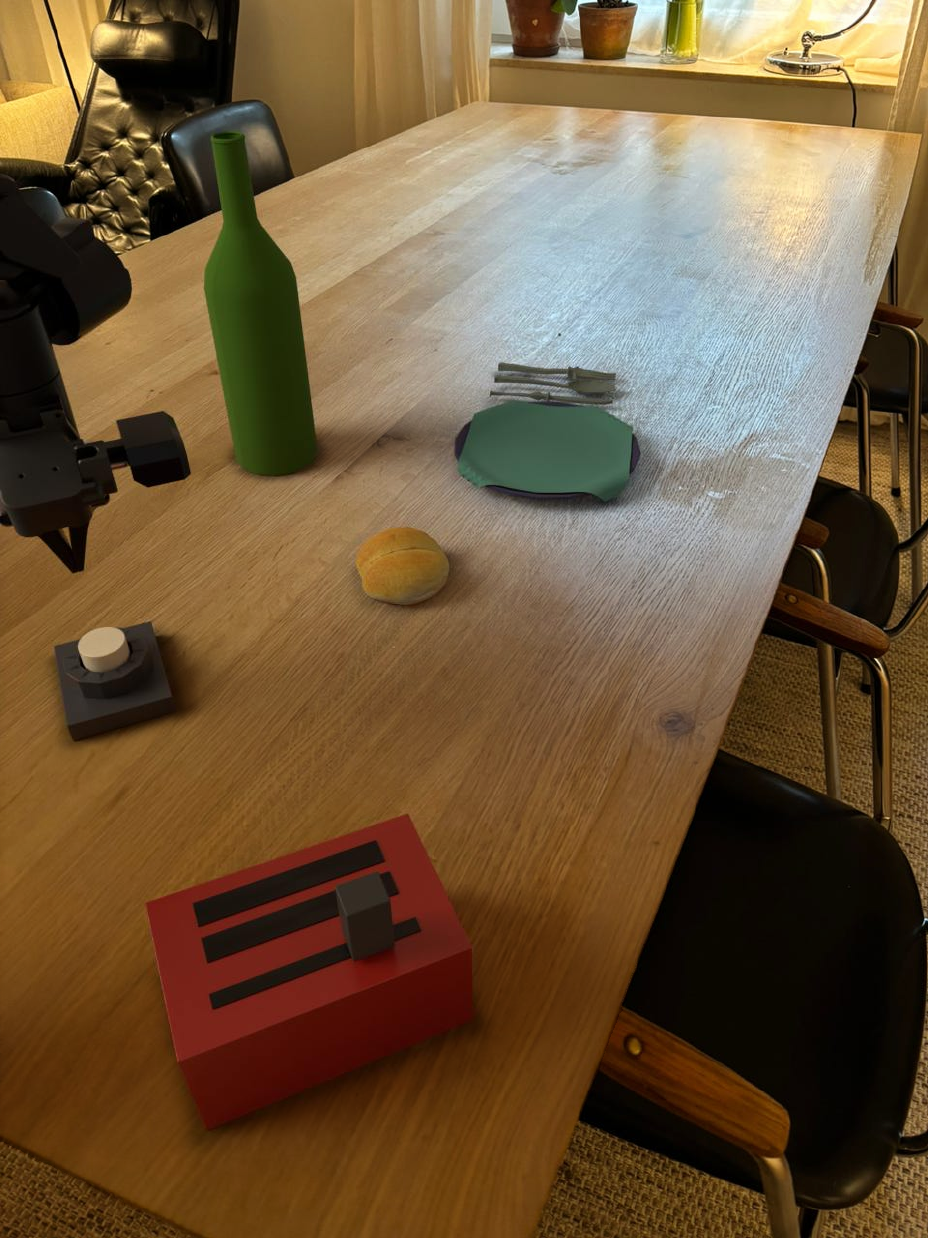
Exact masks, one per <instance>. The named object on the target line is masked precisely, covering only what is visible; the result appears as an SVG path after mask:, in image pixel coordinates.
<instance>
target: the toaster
mask: <svg viewBox="0 0 928 1238" xmlns="http://www.w3.org/2000/svg"><path fill="white" fill-rule="evenodd" d="M374 872H379V875H380V877H381V879H382V882H383V884H384V886H385V889H386V891H387V893H388V896H389V898H390V902H391V911H392V921H393V930H394V940H395V946H394V947H392V948H390V949H387V950H384V951H382V952H379V953H377V954H374V955H371V956H369V957H366V958H363V959H361V960H358V961H356V962H354V961H353V960H352V957H351V954H350V952H349V949H348V946H347V944H346V941H345V938H344V936H343V933H342V927H341V921H340V915H339V909H338V903H337V897H336V891H335V886H337V885H340V884H343V883H346V882H348V881H351V880H354V879H357V878H360V877H362V876H365V875H368V874H371V873H374ZM144 907H145V910H146V911H145V912H146V916H147V922H148V926H149V931H150V937H151V940H152V945H153V950H154V956H155V960H156V965H157V970H158V974H159V979H160V984H161V989H162V994H163V998H164V1005H165V1008H166V1013H167V1017H168V1018H167V1019H168V1022H169V1028H170V1033H171V1037H172V1043H173V1048H174V1052H175V1056H176V1062H177V1064H178V1067H179V1069H180V1071H181V1074H182V1076H183V1078H184V1080H185V1083H186V1086H187V1088H188V1090H189V1092H190V1095H191V1097H192V1100H193V1102H194V1104H195V1106H196V1107H195V1108H196V1109H197V1112H198V1114H199V1116H200V1118H201V1121H202V1123H203V1125H204V1128H205V1130H206V1131H208V1130H211V1129H214V1128H216V1127H218V1126H221V1125H222V1124H226V1123H227V1122H230V1121H232V1120H235V1119H237V1118H239V1117H242V1116H244V1115H247V1114H250V1113H252V1112H254V1111H256V1110H259V1109H262V1108H264V1107H266V1106H269V1105H271V1104H273V1103H277V1102H278V1101H280V1100H283V1099H285V1098H288V1097H291V1096H293V1095H296V1094H298V1093H300V1092H303V1091H305V1090H308V1089H310V1088H312V1087H314V1086H317V1085H319V1084H322V1083H325V1082H327V1081H329V1080H332V1079H334V1078H336V1077H339V1076H341V1075H344V1074H346V1073H349V1072H351V1071H353V1070H356V1069H358V1068H361V1067H363V1066H366V1065H368V1064H370V1063H372V1062H375V1061H378V1060H380V1059H382V1058H384V1057H388V1056H390V1055H392V1054H394V1053H397V1052H399V1051H402V1050H404V1049H406V1048H409V1047H411V1046H414V1045H416V1044H419V1043H422V1042H423V1041H426V1040H428V1039H432V1038H434V1037H435V1036H438V1035H440V1034H442V1033H445V1032H448V1031H450V1030H453V1029H455V1028H457V1027H460V1026H463V1025H465V1024H468V1023H470V1022H472V1021H473V1020H474V997H473V996H474V994H473V985H474V984H473V946H472V944H471V942H470V940H469V938H468V935H467V934H466V931H465V929H464V927H463V925H462V923H461V921H460V919H459V917H458V915H457V912H456V911H455V909H454V906H453V904H452V902H451V900H450V898H449V896H448V894H447V891H446V889H445V888H444V885H443V883H442V881H441V879H440V877H439V875H438V873H437V870H436V869H435V866H434V864H433V862H432V861H431V857H430V856H429V854H428V852H427V850H426V848H425V846H424V844H423V842H422V840H421V837H420V835H419V833H418V831H417V829H416V826H415V825H414V822H413V821H412V819H411V817H410V815H409V813H404V814H401V815H399V816H396V817H393V818H390V819H387V820H385V821H381V822H379V823H376V824H372V825H370V826H367V827H364V828H360V829H358V830H354V831H352V832H349V833H346V834H343V835H340V836H338V837H334V838H331V839H329V840H326V841H322V842H320V843H317V844H313V845H311V846H307V847H305V848H302V849H299V850H296V851H294V852H291V853H288V854H285V855H282V856H278V857H276V858H273V859H269V860H267V861H264V862H261V863H258V864H254V865H252V866H249V867H247V868H244V869H243V868H242V869H240V870H238V871H235V872H232V873H228V874H226V875H223V876H220V877H217V878H214V879H211V880H207V881H205V882H203V883H200V884H196V885H194V886H189V887H188V888H184V889H182V890H178V891H176V892H173V893H170V894H167V895H164V896H161V897H158V898H155V899H152V900H149V901H147V902H144Z"/></svg>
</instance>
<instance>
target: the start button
mask: <svg viewBox="0 0 928 1238" xmlns="http://www.w3.org/2000/svg"><path fill="white" fill-rule="evenodd" d="M114 627H115V626H102V627H98V628H95V629H92V630H90V631H88V632H86V634H84V635H83V636H82V637H80V638H81V640H80V641H79V644H78V649H79V652H80V655H81V658H82V660H83V663H84V666H85V667H86V668H87V669H88V670H90V671H92V672H102V673H103V672H106V671H110V670H114V669H117V668H118V667H119V666H121V665H122V664H124V663H125V662H127V660H128V659H129V656H130V650H129V647H128V644H127V641H126V638H125V635H124V633H123V632H122V631H121V630H119V629H117V628H118V627H117V628H114Z"/></svg>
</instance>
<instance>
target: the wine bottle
mask: <svg viewBox="0 0 928 1238" xmlns="http://www.w3.org/2000/svg"><path fill="white" fill-rule="evenodd" d="M210 142H211V147H212V154H213V161H214V167H215V175H216V181H217V187H218V194H219V201H220V208H221V214H222V215H221V216H222V220H223V221H222V227H221V230H220V232H219V234H218V237H217V239H216V241H215V243H214V245H213V248H212V251H211V253H210V255H209V258H208V260H207V263H206V265H205V267H204V274H203V275H204V276H203V278H204V279H203V292H204V296H205V302H206V308H207V313H208V318H209V324H210V328H211V329H210V330H211V333H212V339H213V345H214V350H215V355H216V359H217V366H218V372H219V377H220V382H221V387H222V388H221V389H222V392H223V399H224V404H225V408H226V413H227V420H228V424H229V430H230V434H231V435H230V436H231V440H232V446H233V451H234V455H235V456H234V457H235V459H236V461H237V463H238V464H239V466H240V467H241V468H242V469H243V470H244V471H246V472H247V473H248V472H249V473H250V474H253V475H258V476H263V477H264V476H265V477H266V476H267V477H275V476H284V475H289V474H292V473H295V472H298V471H301V470H303V469H305V468H306V467H308V466H309V465H311V463H312V462H313V461H315V459H316V456H317V453H318V441H317V434H316V425H315V417H314V409H313V402H312V392H311V386H310V378H309V368H308V362H307V356H306V355H307V353H306V345H305V338H304V330H303V322H302V314H301V305H300V298H299V297H300V296H299V290H298V289H299V288H298V281H297V275H296V273H295V269H294V267H293V264H292V262H291V261H290V259H289V257H287V256H286V254H285V253H284V252H283V251H282V249H281V248H280V247H279V245H278V244H277V243H276V242H275V240H274V239H273V238H272V237H271V235H270V234H269V233H268V232H267V230H266V229H265V228H264V226H263V225H262V223H261V222H260V220H259V218H258V213H257V207H256V201H255V194H254V189H253V183H252V176H251V170H250V163H249V157H248V152H247V146H246V145H247V144H246V136H245V134H244V133H242V132H240V131H236V130H225V131H224V130H223V131H219V132H216V133H214V134H212V135H211V136H210Z"/></svg>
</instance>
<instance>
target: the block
mask: <svg viewBox="0 0 928 1238" xmlns="http://www.w3.org/2000/svg"><path fill="white" fill-rule="evenodd" d="M113 627H114V628H117V629H119V630H121V631H122V632H123V633H124V635H125V638H126V641H127V644H128V647H129V650H130V656H129V659H128V660H127V662H125V663H124V664H122V665H121V666H119V667H118V668H117V669H114V670H110V671H106V672H103V673H102V672H92V671H90V670H88V669H87V668H86V667H85V666H84V663H83V660H82V658H81V655H80V652H79V649H78V644H79V641H80V640H81V638H82V637H80V638H79V639H76V640H72V641H68V642H65V643H61V644H56V645H53V650H54V656H55V662H56V667H57V674H58V681H59V686H60V692H61V698H62V706H63V710H64V717H65V723H66V728H67V730H68V733H69V735H70V737H71V740H72V742H75V741H77V740H82V739H85V738H89V737H92V736H95V735H99V734H103V733H106V732H109V731H113V730H116V729H120V728H123V727H127V726H129V725H130V726H131V725H133V724H136V723H140V722H144V721H147V720H151V719H155V718H158V717H162V716H164V715H165V716H166V715H168V714H171V713H174V712H177V709H176V704H175V701H174V698H173V694H172V691H171V687H170V683H169V680H168V676H167V673H166V669H165V666H164V663H163V662H164V661H163V659H162V655H161V652H160V648H159V644H158V641H157V638H156V634H155V630H154V627H153V623H152V621H151V620H149V621H145V622H142V623H137V624H134V625H130V626H126V627H116V626H113Z"/></svg>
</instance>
